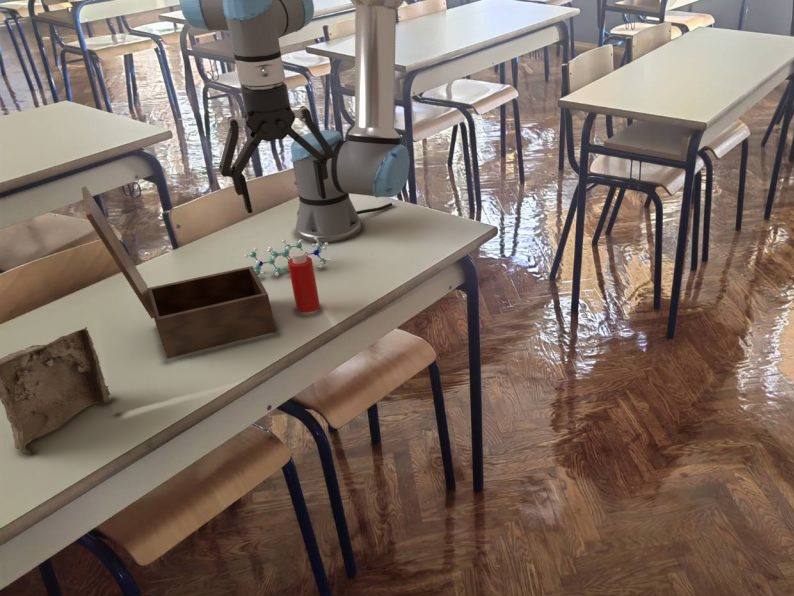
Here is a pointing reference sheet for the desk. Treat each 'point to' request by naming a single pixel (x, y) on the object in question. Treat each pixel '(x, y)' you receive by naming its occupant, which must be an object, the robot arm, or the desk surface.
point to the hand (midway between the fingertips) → (286, 203)
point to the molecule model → (286, 253)
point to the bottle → (303, 282)
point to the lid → (117, 251)
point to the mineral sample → (50, 385)
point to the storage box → (211, 311)
